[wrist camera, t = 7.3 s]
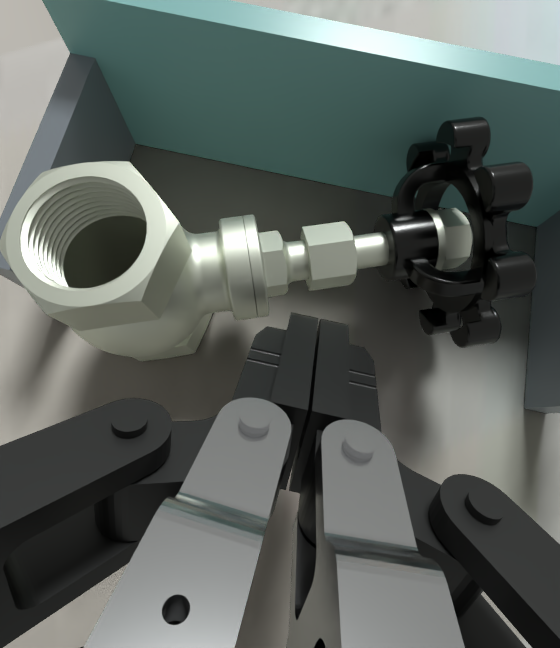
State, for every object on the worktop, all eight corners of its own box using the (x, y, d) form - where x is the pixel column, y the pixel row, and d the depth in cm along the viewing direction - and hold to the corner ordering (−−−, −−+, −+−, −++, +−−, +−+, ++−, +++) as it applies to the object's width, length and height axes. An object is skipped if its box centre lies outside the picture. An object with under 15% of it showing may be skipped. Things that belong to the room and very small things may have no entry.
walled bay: (55, 305, 15) (-81, 229, 9) (122, 123, 17) (45, -37, 11) (546, 413, 14) (734, 405, 9) (557, 213, 16) (717, 96, 11)
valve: (112, 414, 14) (447, 360, 15) (-18, 405, 8) (582, 311, 8) (101, 239, 16) (405, 198, 16) (-16, 110, 9) (492, 53, 10)
